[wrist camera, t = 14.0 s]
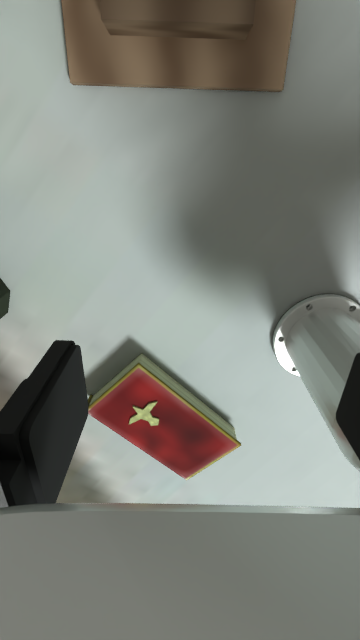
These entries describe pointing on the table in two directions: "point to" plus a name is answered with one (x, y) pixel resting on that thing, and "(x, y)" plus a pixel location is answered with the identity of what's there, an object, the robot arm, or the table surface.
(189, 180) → the table surface
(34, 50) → the table surface
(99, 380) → the table surface
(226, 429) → the hardcover book
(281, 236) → the table surface
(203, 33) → the u rest
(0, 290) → the wine bottle
